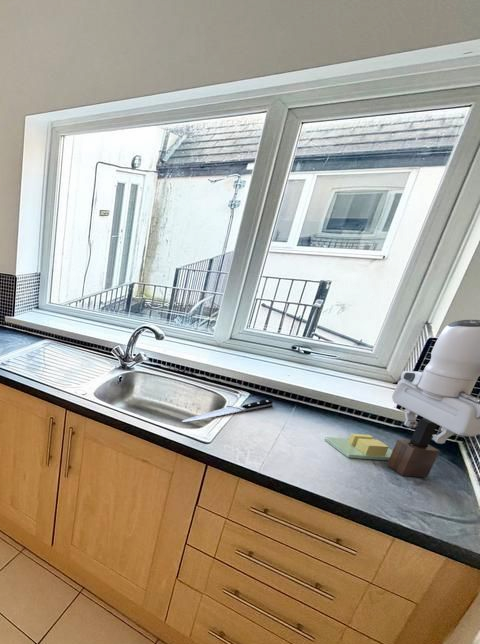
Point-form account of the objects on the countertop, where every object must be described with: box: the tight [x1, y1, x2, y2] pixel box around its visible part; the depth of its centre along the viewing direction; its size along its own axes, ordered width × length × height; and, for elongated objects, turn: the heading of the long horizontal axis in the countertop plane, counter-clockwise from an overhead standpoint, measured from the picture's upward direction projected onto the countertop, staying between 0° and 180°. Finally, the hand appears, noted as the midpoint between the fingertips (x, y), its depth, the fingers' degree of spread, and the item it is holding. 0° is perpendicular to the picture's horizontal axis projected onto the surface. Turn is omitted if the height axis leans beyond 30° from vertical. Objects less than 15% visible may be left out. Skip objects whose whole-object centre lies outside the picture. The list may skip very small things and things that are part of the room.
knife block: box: [386, 439, 440, 478], centre depth 110 cm, size 6×5×8 cm
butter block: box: [355, 438, 390, 456], centre depth 118 cm, size 5×4×3 cm
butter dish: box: [323, 436, 393, 461], centre depth 121 cm, size 14×10×1 cm
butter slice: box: [348, 433, 375, 445], centre depth 122 cm, size 5×2×3 cm, turn 83°
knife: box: [410, 418, 438, 448], centre depth 109 cm, size 4×2×15 cm
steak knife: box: [181, 399, 273, 423], centre depth 143 cm, size 5×41×2 cm, turn 108°
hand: (422, 434), depth 108 cm, fingers open, 7 cm apart
